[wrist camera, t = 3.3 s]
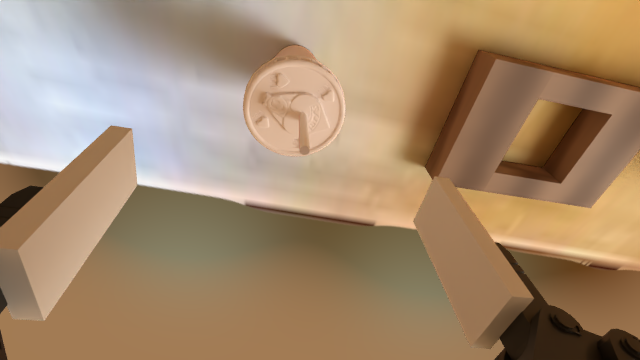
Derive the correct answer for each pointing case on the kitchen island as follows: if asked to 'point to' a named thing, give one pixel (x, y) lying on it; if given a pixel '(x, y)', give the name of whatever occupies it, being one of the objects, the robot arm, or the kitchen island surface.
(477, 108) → the bottle holder
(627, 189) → the kitchen island surface
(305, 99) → the smoothie
